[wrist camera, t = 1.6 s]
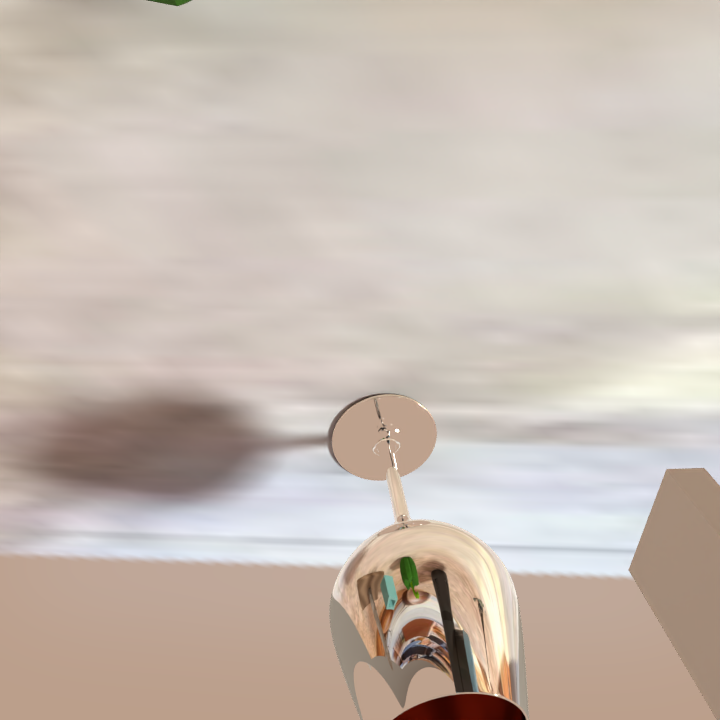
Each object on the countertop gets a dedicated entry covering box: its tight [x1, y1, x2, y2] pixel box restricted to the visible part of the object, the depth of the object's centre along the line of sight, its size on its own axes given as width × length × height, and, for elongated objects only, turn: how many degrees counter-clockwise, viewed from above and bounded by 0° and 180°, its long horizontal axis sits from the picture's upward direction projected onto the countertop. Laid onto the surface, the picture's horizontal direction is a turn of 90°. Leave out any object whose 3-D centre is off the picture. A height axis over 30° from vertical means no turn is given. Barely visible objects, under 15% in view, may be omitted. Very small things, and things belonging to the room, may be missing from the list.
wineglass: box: [329, 394, 529, 720], centre depth 31 cm, size 8×8×18 cm
